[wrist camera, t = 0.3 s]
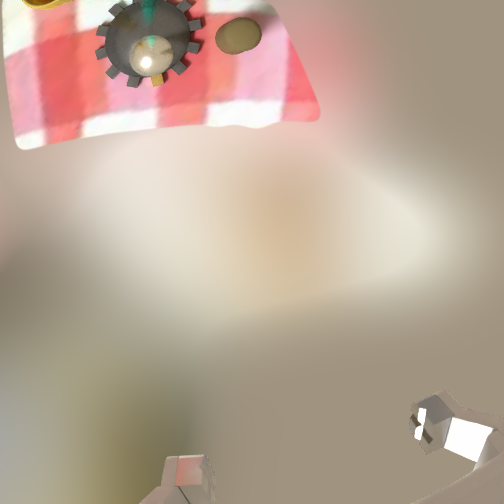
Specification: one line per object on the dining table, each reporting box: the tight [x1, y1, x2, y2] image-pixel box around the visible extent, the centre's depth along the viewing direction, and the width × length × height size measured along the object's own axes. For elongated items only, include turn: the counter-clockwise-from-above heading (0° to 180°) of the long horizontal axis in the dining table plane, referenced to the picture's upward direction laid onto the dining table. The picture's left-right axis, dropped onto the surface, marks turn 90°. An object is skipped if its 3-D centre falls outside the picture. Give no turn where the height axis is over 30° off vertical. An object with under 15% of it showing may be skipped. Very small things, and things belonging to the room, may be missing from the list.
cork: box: [215, 18, 262, 55], centre depth 39 cm, size 6×6×11 cm
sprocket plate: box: [95, 0, 202, 88], centre depth 40 cm, size 18×18×1 cm
